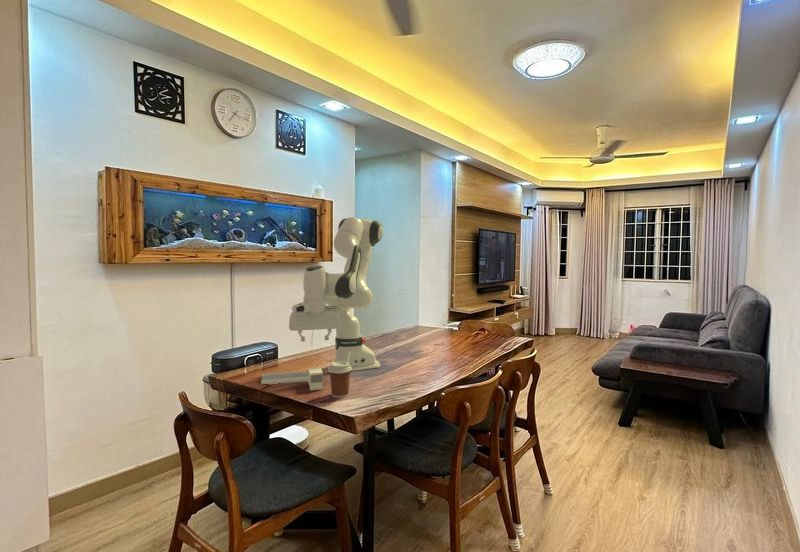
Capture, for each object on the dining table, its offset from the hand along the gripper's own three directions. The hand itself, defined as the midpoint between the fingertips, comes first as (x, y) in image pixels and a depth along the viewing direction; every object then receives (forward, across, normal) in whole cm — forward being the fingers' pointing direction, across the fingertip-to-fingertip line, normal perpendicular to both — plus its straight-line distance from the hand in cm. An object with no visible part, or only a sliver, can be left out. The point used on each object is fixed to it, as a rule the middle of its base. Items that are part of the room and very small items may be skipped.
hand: (314, 340), depth 169 cm
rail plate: (+19, +11, -14) cm, 26 cm away
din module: (+19, 0, 0) cm, 19 cm away
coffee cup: (+19, -8, +13) cm, 24 cm away
